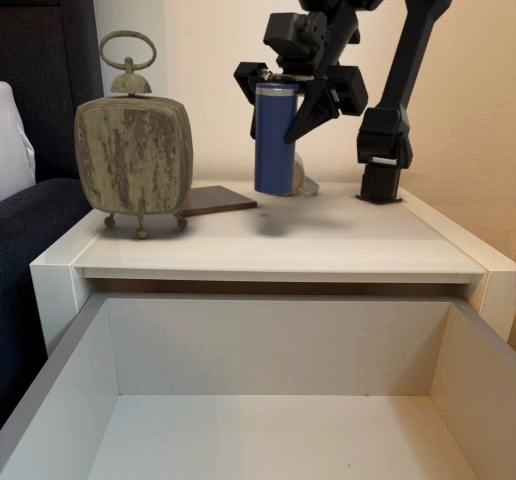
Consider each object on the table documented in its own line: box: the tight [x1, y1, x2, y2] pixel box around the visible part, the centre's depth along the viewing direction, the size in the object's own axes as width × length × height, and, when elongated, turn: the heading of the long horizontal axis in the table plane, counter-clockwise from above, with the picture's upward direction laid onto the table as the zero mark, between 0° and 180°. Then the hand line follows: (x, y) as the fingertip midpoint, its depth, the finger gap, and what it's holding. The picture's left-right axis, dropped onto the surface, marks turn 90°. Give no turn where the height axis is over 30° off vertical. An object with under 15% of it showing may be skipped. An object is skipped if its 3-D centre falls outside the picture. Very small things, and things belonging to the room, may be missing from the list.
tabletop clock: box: [73, 29, 194, 240], centre depth 66 cm, size 14×9×25 cm, turn 92°
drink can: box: [253, 83, 300, 195], centre depth 66 cm, size 6×6×13 cm
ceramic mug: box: [279, 151, 320, 196], centre depth 96 cm, size 11×8×8 cm
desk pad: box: [177, 184, 258, 217], centre depth 89 cm, size 14×14×1 cm
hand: (268, 139), depth 65 cm, fingers closed on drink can, 5 cm apart
